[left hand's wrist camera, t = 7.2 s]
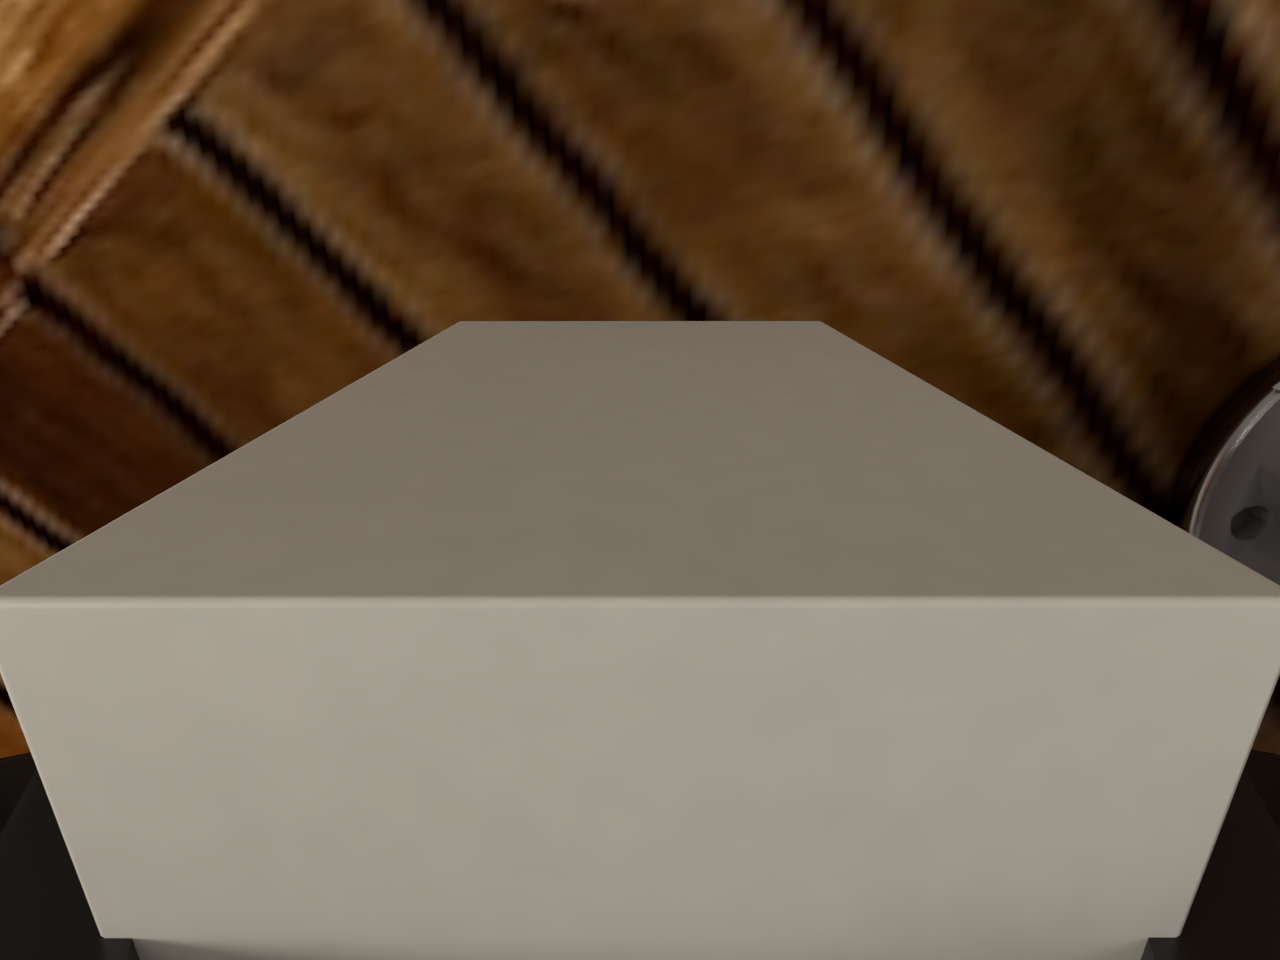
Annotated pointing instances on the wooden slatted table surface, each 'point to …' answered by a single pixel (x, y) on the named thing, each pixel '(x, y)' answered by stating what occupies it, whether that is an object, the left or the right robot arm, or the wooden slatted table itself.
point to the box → (640, 671)
